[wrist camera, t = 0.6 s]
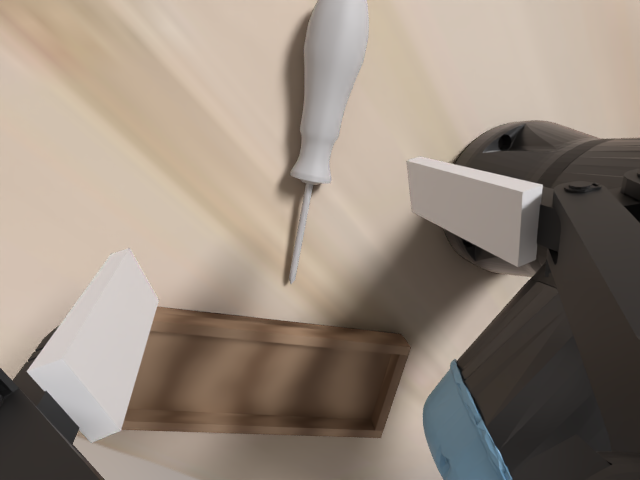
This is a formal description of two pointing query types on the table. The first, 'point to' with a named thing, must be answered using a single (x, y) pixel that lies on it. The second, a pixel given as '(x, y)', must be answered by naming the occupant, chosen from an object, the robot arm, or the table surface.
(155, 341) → the tool tray
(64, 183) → the table surface
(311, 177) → the screwdriver
